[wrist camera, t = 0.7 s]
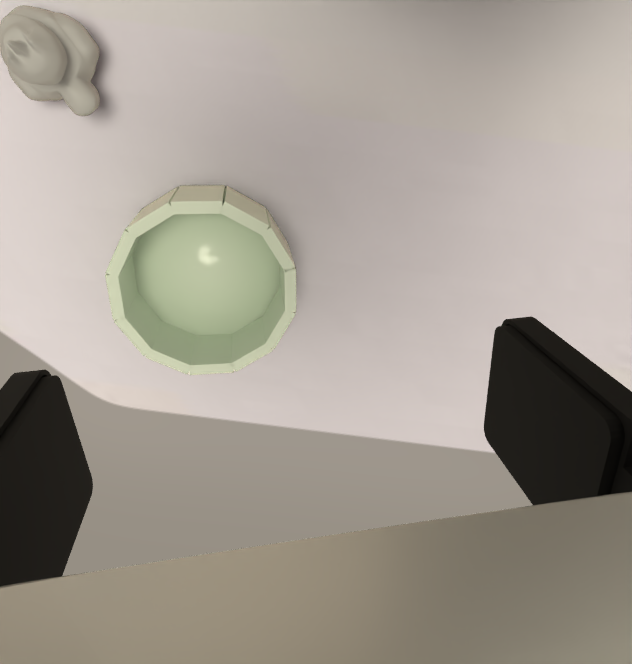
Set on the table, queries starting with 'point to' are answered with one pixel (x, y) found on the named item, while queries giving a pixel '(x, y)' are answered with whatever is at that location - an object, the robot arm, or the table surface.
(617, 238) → the table surface
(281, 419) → the table surface
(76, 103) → the rubber duck
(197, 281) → the pale green bowl
